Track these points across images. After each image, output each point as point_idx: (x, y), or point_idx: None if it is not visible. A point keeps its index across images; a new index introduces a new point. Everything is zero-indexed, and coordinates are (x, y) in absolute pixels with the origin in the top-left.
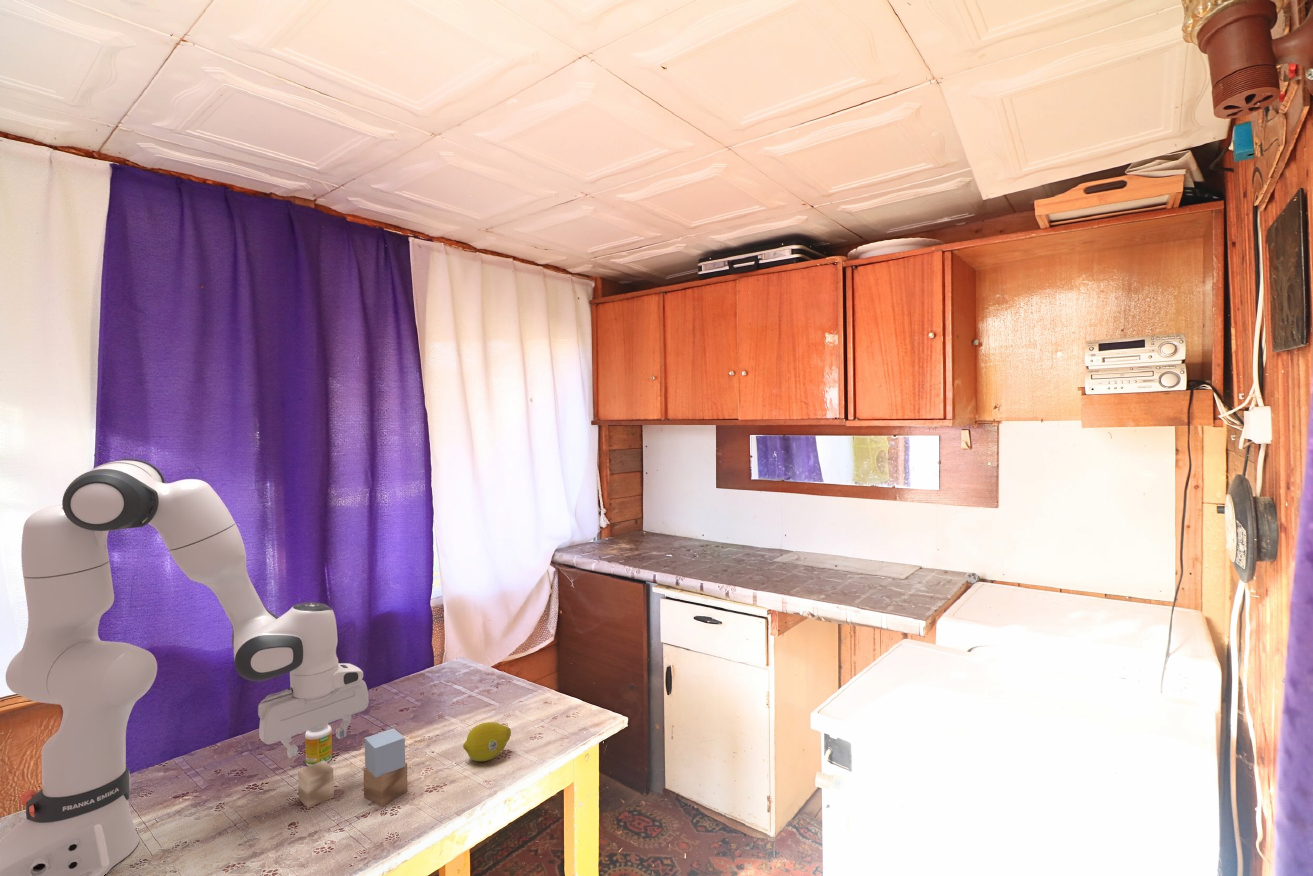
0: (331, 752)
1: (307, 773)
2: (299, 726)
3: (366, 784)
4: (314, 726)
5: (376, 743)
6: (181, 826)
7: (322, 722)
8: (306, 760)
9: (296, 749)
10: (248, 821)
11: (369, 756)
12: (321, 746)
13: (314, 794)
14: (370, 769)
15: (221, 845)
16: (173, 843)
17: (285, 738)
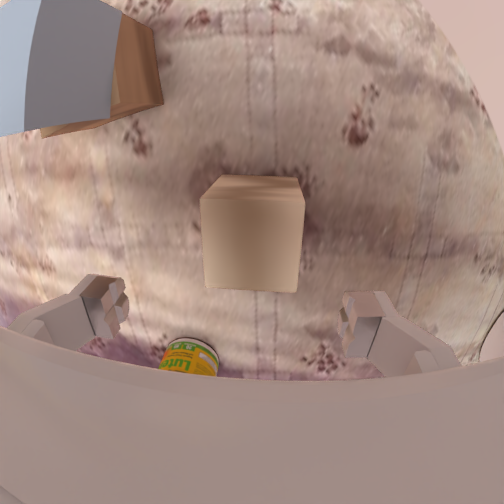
0: (164, 354)
1: (285, 244)
2: (411, 433)
3: (142, 89)
4: (251, 392)
5: (20, 26)
6: (456, 324)
7: (163, 392)
8: (217, 368)
9: (363, 309)
10: (408, 245)
11: (76, 62)
12: (181, 372)
13: (277, 184)
14: (108, 58)
15: (472, 200)
16: (488, 282)
17: (477, 364)
